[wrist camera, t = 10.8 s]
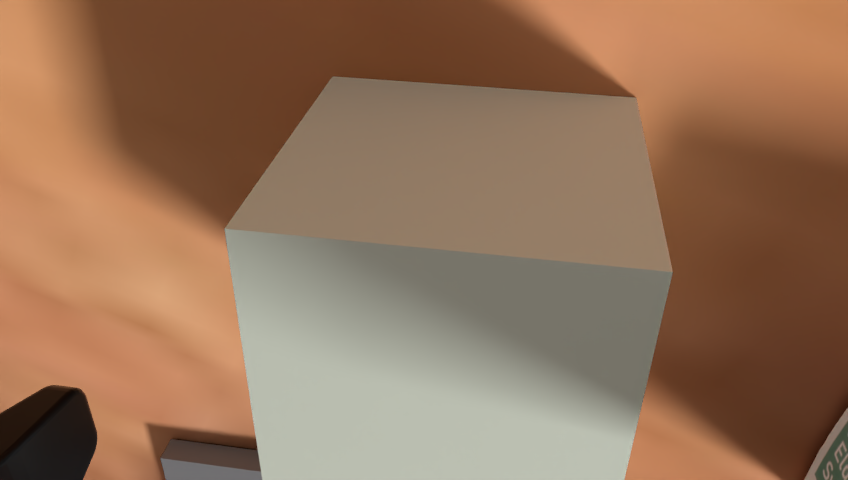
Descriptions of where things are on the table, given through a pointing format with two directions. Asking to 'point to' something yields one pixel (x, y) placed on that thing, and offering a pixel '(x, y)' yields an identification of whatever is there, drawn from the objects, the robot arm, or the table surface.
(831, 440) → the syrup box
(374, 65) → the table surface
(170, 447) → the square panel
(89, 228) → the table surface
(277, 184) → the sage block
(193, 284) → the table surface
